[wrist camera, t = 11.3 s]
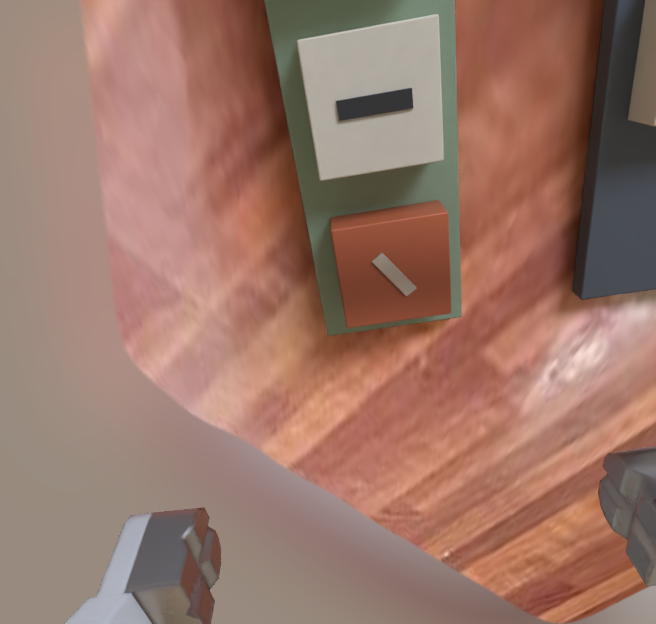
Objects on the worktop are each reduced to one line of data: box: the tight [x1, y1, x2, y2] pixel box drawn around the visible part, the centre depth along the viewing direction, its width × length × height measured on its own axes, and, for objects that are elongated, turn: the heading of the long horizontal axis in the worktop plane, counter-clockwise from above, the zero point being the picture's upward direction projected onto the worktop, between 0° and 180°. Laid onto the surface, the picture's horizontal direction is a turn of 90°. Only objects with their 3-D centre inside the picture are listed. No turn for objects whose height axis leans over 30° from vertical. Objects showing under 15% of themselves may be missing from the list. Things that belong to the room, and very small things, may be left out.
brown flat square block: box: [330, 200, 452, 328], centre depth 22 cm, size 5×5×2 cm
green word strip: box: [264, 0, 461, 336], centre depth 19 cm, size 22×7×3 cm, turn 9°
